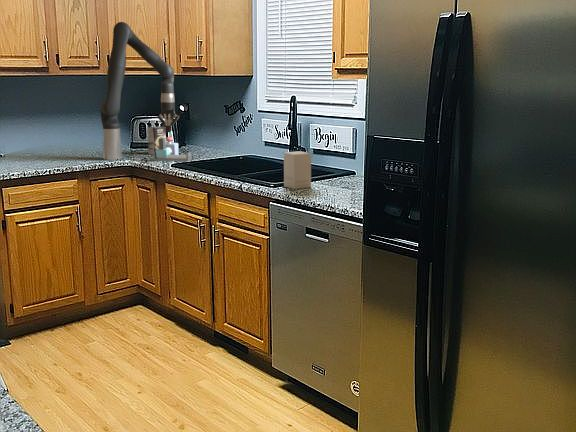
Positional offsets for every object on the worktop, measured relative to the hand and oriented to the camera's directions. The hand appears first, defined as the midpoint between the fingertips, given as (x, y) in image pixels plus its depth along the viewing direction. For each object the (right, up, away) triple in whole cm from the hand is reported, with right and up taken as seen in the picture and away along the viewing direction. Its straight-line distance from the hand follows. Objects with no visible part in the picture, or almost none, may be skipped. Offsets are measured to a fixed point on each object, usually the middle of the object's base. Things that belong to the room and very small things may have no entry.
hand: (168, 132), depth 362 cm
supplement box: (+72, -35, -85) cm, 117 cm away
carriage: (-2, -15, -7) cm, 17 cm away
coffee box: (-10, -11, +18) cm, 23 cm away
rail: (+3, -17, -8) cm, 19 cm away
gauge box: (0, -14, +4) cm, 15 cm away
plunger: (0, -8, +2) cm, 9 cm away
